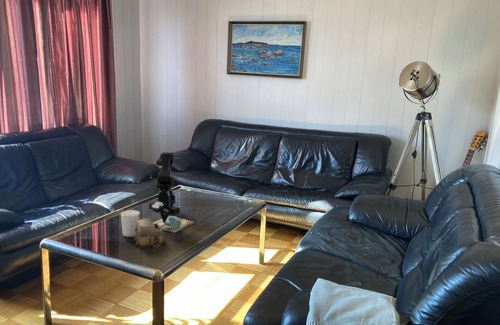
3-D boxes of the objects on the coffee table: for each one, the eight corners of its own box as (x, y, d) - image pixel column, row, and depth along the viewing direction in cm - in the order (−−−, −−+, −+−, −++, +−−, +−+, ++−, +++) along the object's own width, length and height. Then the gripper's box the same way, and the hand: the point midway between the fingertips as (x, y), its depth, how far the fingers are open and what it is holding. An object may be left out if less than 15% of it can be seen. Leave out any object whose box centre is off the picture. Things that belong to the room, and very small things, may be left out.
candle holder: (143, 232, 222) (143, 211, 220) (132, 238, 213) (132, 217, 211) (128, 229, 225) (128, 209, 223) (117, 235, 216) (116, 214, 214)
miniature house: (137, 250, 200) (136, 228, 197) (132, 239, 212) (132, 219, 210) (166, 246, 206) (167, 225, 204) (160, 236, 218) (161, 216, 216)
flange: (162, 220, 238) (162, 212, 237) (178, 218, 242) (178, 210, 241) (166, 229, 224) (166, 221, 223) (184, 228, 227) (184, 219, 226)
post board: (149, 225, 232) (149, 217, 231) (170, 217, 248) (170, 209, 247) (174, 232, 224) (174, 224, 223) (193, 223, 239) (193, 215, 238)
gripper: (142, 196, 224) (142, 222, 227) (168, 202, 215) (167, 230, 219) (155, 192, 234) (155, 217, 237) (181, 198, 225) (180, 224, 228)
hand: (164, 222), depth 230 cm, fingers closed
